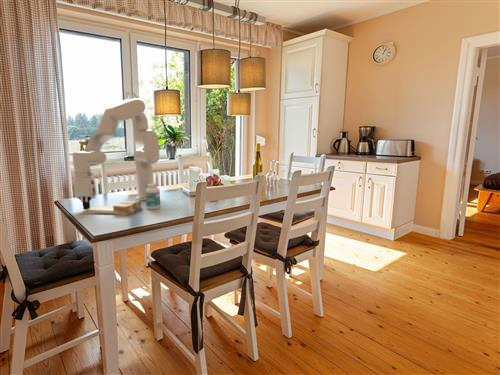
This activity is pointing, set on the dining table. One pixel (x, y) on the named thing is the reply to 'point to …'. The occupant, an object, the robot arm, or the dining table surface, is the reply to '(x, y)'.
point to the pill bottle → (152, 197)
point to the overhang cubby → (121, 208)
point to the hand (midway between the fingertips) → (86, 208)
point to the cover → (101, 208)
